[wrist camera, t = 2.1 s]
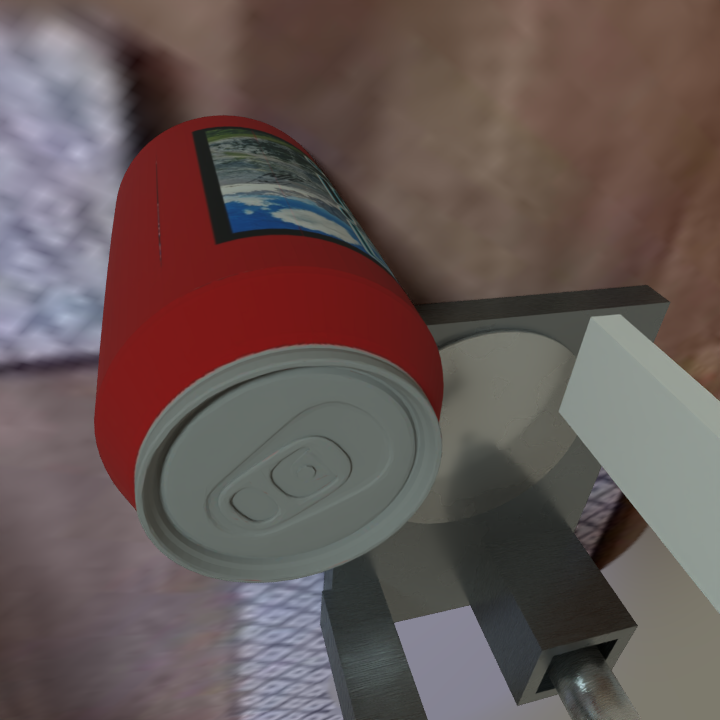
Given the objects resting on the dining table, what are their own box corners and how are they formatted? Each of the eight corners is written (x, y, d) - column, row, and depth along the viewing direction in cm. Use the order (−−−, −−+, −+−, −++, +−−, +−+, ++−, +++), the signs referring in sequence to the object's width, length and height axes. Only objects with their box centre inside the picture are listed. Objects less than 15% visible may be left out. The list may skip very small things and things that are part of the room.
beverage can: (363, 233, 22) (529, 479, 12) (209, 338, 22) (256, 645, 13) (248, 57, 17) (369, 227, 8) (64, 194, 18) (-23, 495, 9)
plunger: (508, 662, 32) (608, 869, 25) (526, 614, 30) (643, 830, 23) (579, 643, 33) (694, 836, 26) (603, 595, 31) (737, 795, 24)
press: (313, 615, 35) (365, 832, 26) (326, 312, 23) (426, 532, 15) (538, 566, 38) (644, 742, 30) (647, 285, 27) (866, 448, 19)
